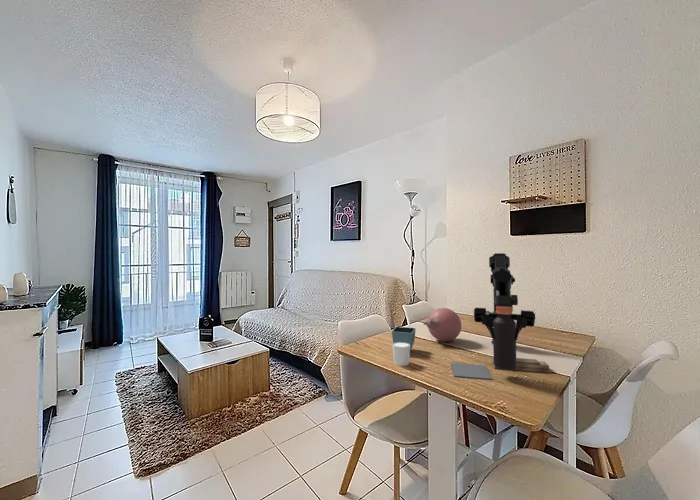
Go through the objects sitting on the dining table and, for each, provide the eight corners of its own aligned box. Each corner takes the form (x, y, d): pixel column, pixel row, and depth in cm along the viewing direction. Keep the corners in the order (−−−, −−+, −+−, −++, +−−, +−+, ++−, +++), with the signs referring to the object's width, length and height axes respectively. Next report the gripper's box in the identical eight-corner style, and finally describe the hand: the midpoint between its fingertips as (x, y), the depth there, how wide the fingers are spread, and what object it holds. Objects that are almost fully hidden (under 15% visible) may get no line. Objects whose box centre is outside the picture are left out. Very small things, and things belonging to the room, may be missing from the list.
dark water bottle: (521, 368, 98) (520, 307, 98) (506, 371, 96) (505, 309, 96) (503, 361, 104) (502, 304, 104) (489, 364, 102) (488, 305, 102)
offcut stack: (494, 368, 107) (494, 360, 107) (491, 363, 112) (491, 355, 112) (551, 372, 103) (551, 364, 103) (545, 367, 108) (545, 359, 108)
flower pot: (391, 352, 126) (391, 331, 126) (396, 346, 134) (396, 326, 134) (412, 355, 122) (412, 333, 123) (416, 348, 131) (415, 328, 131)
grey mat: (453, 376, 101) (453, 375, 101) (450, 363, 112) (450, 362, 112) (492, 379, 98) (492, 378, 98) (484, 366, 109) (484, 365, 109)
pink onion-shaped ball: (413, 339, 144) (412, 307, 144) (446, 334, 152) (445, 304, 152) (433, 348, 130) (433, 313, 130) (468, 343, 138) (468, 309, 138)
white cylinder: (411, 360, 116) (411, 342, 116) (409, 367, 109) (409, 348, 109) (394, 359, 118) (394, 341, 118) (390, 365, 112) (390, 346, 112)
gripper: (473, 285, 108) (472, 322, 98) (534, 287, 100) (539, 328, 90) (474, 303, 115) (474, 340, 105) (531, 306, 107) (536, 346, 97)
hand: (504, 338), depth 99 cm, fingers closed on dark water bottle, 6 cm apart
